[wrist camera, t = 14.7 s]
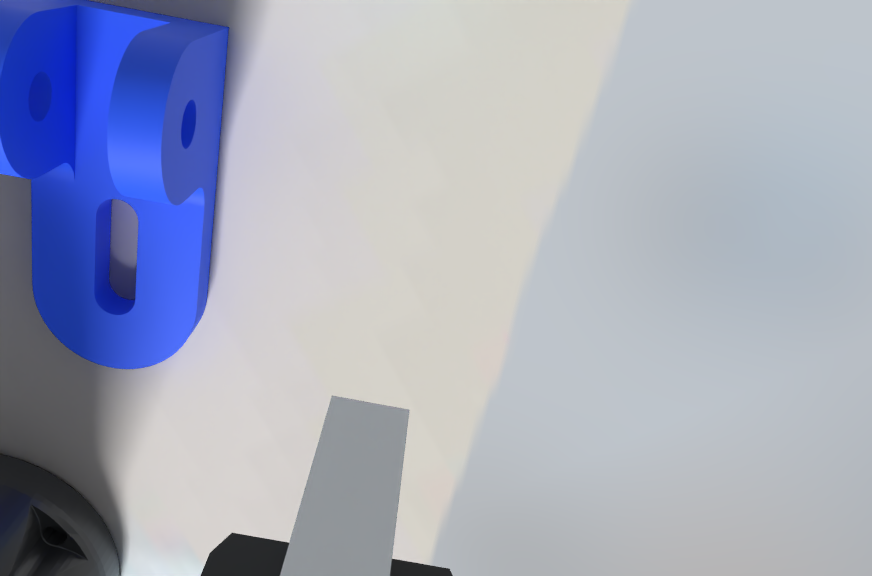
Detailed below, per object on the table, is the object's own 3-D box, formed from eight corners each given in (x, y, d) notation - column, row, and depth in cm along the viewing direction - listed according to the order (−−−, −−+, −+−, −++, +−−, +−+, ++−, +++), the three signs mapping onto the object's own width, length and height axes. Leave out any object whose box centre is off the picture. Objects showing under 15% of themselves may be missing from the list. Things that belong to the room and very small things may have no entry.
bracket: (51, -8, 39) (-63, 8, 30) (229, 26, 39) (166, 51, 31) (51, 336, 45) (-41, 425, 37) (202, 362, 46) (144, 456, 38)
